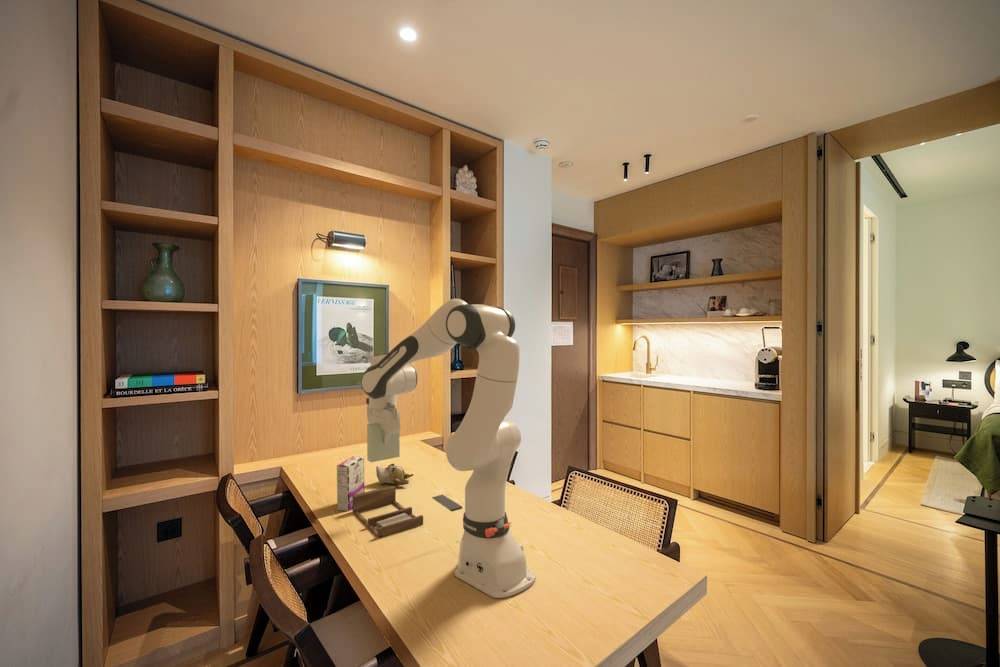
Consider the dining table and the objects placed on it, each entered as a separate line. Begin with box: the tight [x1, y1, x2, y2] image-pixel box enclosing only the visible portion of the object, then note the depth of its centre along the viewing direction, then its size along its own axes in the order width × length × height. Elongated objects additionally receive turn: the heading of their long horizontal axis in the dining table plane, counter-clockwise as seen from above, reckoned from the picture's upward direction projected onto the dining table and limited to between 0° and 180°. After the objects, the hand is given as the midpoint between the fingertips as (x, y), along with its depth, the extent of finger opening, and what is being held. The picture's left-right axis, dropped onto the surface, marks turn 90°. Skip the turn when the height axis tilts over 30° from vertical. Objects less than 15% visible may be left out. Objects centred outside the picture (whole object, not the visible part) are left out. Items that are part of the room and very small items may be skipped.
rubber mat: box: [431, 494, 463, 512], centre depth 156 cm, size 14×16×1 cm
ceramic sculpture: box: [375, 463, 414, 486], centre depth 179 cm, size 11×9×15 cm
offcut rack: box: [352, 485, 424, 539], centre depth 144 cm, size 24×15×7 cm, turn 38°
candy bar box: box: [336, 455, 366, 512], centre depth 157 cm, size 11×5×16 cm, turn 168°
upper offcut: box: [376, 513, 412, 529], centre depth 138 cm, size 6×10×2 cm, turn 132°
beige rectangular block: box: [366, 423, 401, 463], centre depth 146 cm, size 4×10×12 cm, turn 128°
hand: (383, 441), depth 146 cm, fingers closed on beige rectangular block, 3 cm apart
